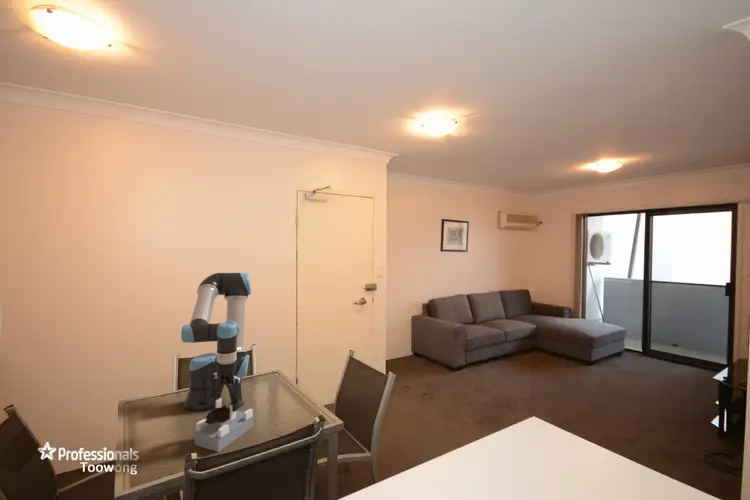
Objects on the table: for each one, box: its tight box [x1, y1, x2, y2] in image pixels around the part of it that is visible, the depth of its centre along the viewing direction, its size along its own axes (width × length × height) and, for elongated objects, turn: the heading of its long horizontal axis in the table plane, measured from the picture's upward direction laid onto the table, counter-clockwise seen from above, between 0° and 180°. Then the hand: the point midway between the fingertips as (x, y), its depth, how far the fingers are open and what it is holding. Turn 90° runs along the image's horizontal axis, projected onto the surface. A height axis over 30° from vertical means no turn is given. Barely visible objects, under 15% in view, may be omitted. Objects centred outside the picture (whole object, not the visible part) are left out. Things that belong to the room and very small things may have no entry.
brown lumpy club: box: [205, 398, 245, 424], centre depth 146 cm, size 18×7×6 cm, turn 160°
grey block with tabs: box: [193, 408, 255, 453], centre depth 145 cm, size 12×20×8 cm, turn 160°
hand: (225, 416), depth 145 cm, fingers closed on brown lumpy club, 7 cm apart
